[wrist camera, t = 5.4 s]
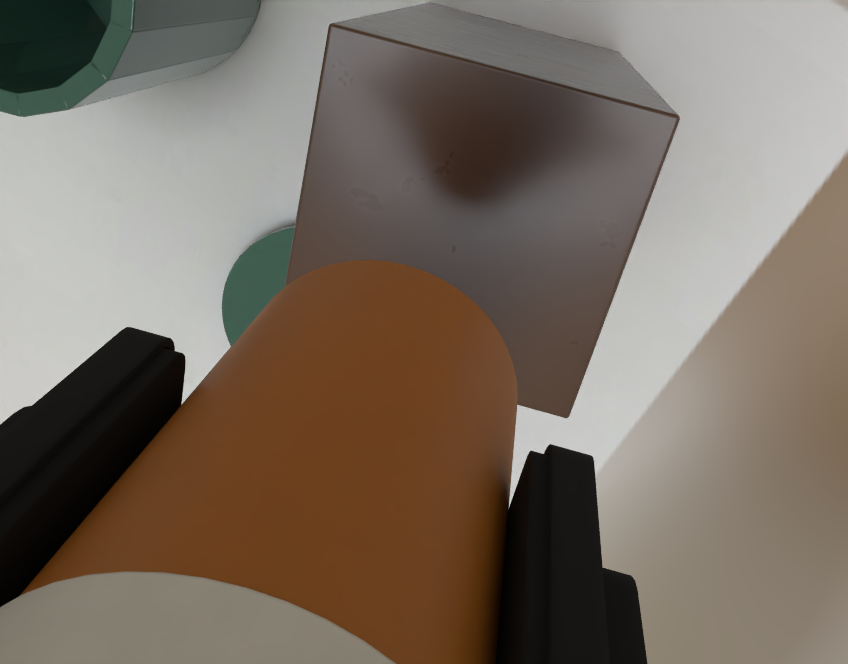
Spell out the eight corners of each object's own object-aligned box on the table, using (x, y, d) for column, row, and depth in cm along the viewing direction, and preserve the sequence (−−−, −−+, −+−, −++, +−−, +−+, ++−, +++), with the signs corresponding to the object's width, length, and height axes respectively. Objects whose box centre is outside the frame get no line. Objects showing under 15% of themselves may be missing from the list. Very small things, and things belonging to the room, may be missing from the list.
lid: (439, 250, 41) (421, 294, 35) (395, 420, 45) (373, 483, 40) (242, 197, 41) (194, 231, 35) (219, 370, 45) (172, 426, 40)
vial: (562, 298, 11) (577, 857, 4) (481, 537, 13) (398, 1189, 6) (260, 216, 12) (-215, 619, 4) (225, 464, 14) (-142, 1019, 6)
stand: (620, 52, 35) (681, 116, 19) (560, 237, 39) (568, 419, 23) (428, 1, 36) (328, 22, 20) (387, 190, 40) (275, 337, 23)
